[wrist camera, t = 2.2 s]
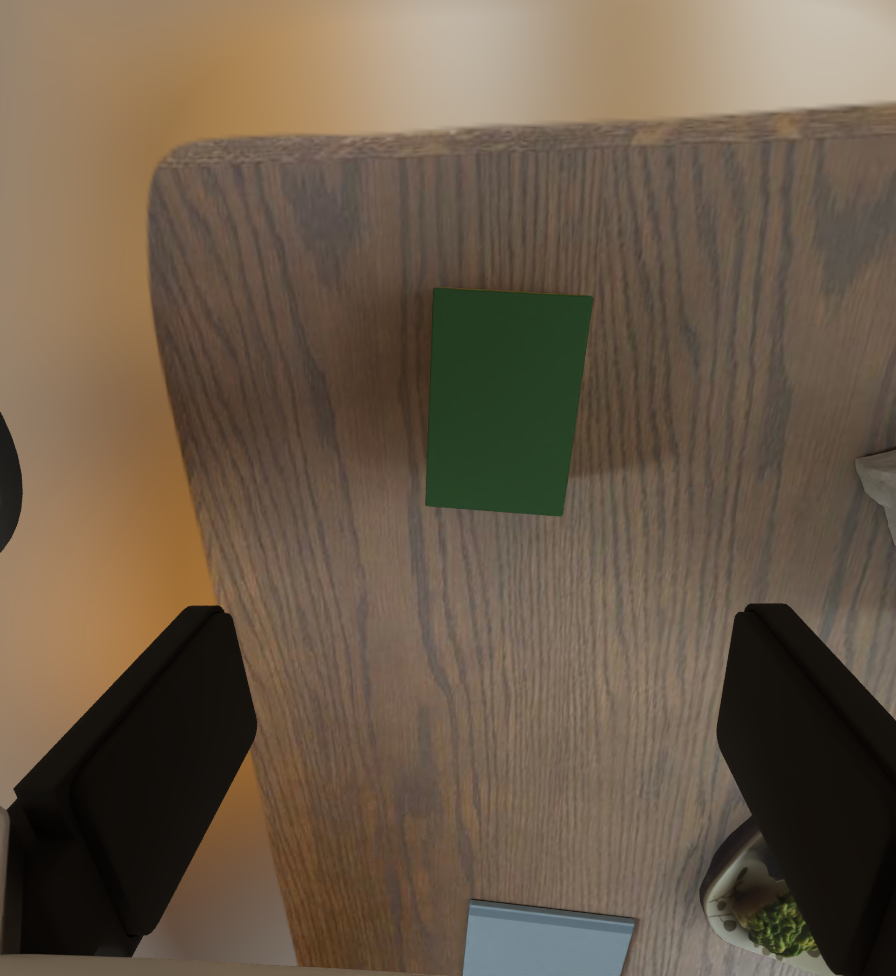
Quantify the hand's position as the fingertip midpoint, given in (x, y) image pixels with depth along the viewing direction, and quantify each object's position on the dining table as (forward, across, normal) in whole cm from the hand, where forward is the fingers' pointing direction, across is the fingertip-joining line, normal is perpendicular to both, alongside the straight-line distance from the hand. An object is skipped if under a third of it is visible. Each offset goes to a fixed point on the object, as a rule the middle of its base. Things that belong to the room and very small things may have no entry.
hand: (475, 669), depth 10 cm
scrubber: (+18, -1, -2) cm, 18 cm away
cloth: (+18, -3, +44) cm, 48 cm away
